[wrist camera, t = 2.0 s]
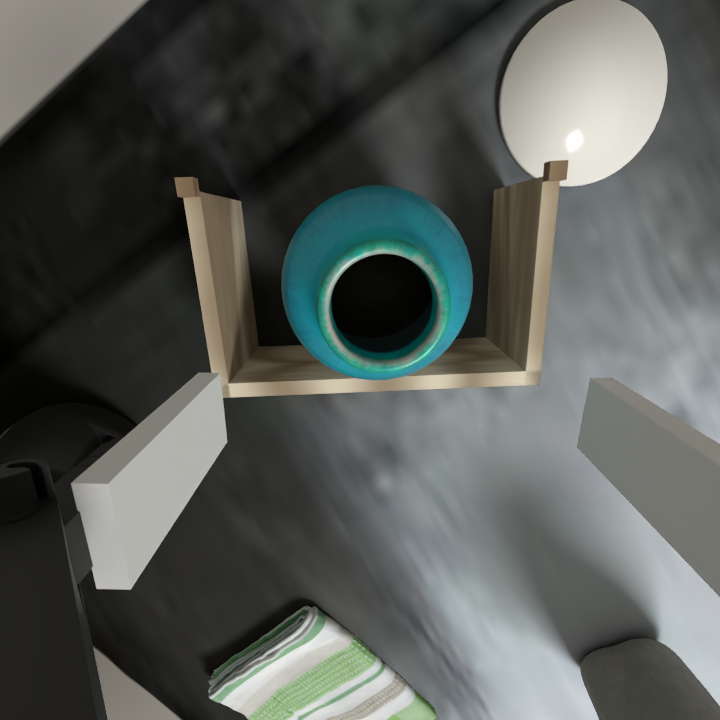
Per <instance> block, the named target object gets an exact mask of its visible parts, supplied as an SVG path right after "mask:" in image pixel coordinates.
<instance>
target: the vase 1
mask: <svg viewBox="0 0 720 720" xmlns="http://www.w3.org/2000/svg"><path fill="white" fill-rule="evenodd" d="M281 290H282V298H283V305H284V308H285V312H286V316H287V319H288V321H289V323H290V325H291V327H292V330H293V331H294V333H295V335H296V336H297V338H298V339H299V341H300V342H301V344H302V345H303V346H304V347H305V348H306V349H307V350H308V351H309V352H310V354H311V355H313V356H314V357H315V358H316V359H317V360H319V361H320V362H321V363H322V364H324V365H326V366H327V367H329V368H331V369H332V370H334V371H337V372H339V373H341V374H344V375H346V376H350V377H354V378H358V379H365V380H389V379H394V378H399V377H403V376H406V375H409V374H411V373H414V372H416V371H418V370H420V369H422V368H424V367H426V366H427V365H429V364H430V363H432V362H433V361H434V360H436V359H437V358H438V357H440V356H441V355H442V354H443V353H444V352H445V351H446V350H447V348H448V347H449V346H450V345H451V344H452V342H453V341H454V340H455V338H456V337H457V336H458V334H459V332H460V330H461V328H462V326H463V325H464V323H465V320H466V317H467V314H468V312H469V309H470V304H471V298H472V293H473V273H472V265H471V260H470V257H469V253H468V250H467V247H466V245H465V243H464V241H463V239H462V236H461V234H460V233H459V231H458V230H457V228H456V227H455V225H454V224H453V223H452V221H451V220H450V219H449V218H448V217H447V216H446V215H445V214H444V213H443V212H442V211H441V210H440V209H439V208H438V207H437V206H436V205H434V204H433V203H431V202H430V201H429V200H427V199H426V198H424V197H422V196H419V195H417V194H415V193H413V192H411V191H408V190H405V189H401V188H398V187H394V186H385V185H370V186H361V187H357V188H352V189H348V190H346V191H343V192H341V193H339V194H336V195H334V196H332V197H331V198H329V199H328V200H326V201H324V202H323V203H321V204H320V205H319V206H318V207H316V208H315V209H314V210H313V211H312V212H311V213H310V214H309V215H308V216H307V217H306V218H305V220H304V221H303V222H302V223H301V225H300V226H299V227H298V229H297V231H296V232H295V234H294V236H293V238H292V240H291V241H290V244H289V247H288V249H287V252H286V255H285V259H284V264H283V269H282V283H281Z"/></svg>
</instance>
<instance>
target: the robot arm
mask: <svg viewBox="0 0 720 720" xmlns="http://www.w3.org/2000/svg"><path fill="white" fill-rule="evenodd" d="M226 443H227V435H226V425H225V415H224V406H223V396H222V387H221V377H220V373H198V374H197V375H196V376H194V377H193V378H192V379H191V380H190V381H189V382H187V383H186V384H185V385H184V386H183V387H182V388H180V389H179V390H178V391H177V392H176V393H175V394H174V395H172V396H171V397H170V398H169V399H168V400H167V401H165V402H164V403H163V404H162V405H161V406H160V407H158V408H157V409H156V410H155V411H154V412H153V413H152V414H150V415H149V416H148V417H147V418H146V419H145V420H143V421H142V422H141V423H140V424H139V425H138V426H135V425H134V424H133V423H131V422H130V421H129V420H127V419H126V418H124V417H122V416H120V415H119V414H117V413H115V412H112V411H110V410H108V409H105V408H102V407H99V406H95V405H91V404H85V403H74V402H68V403H58V404H53V405H49V406H45V407H43V408H40V409H38V410H36V411H34V412H32V413H31V414H29V415H27V416H25V417H24V418H22V419H20V420H18V421H17V422H15V423H14V424H12V425H11V426H10V427H8V428H7V429H6V430H5V431H4V432H3V433H2V434H1V435H0V720H107V715H106V710H105V705H104V700H103V695H102V690H101V685H100V680H99V675H98V671H97V665H96V661H95V656H94V650H93V645H92V640H91V636H90V631H89V626H88V621H87V616H86V611H85V606H84V601H83V596H82V592H81V588H80V582H81V581H82V580H83V578H84V577H85V576H86V575H87V573H88V572H89V571H90V570H91V569H92V572H93V576H94V580H95V584H96V588H97V589H128V590H131V588H132V587H133V585H134V584H135V582H136V581H137V579H138V578H139V576H140V574H141V573H142V571H143V570H144V568H145V567H146V565H147V564H148V562H149V561H150V559H151V558H152V556H153V555H154V553H155V551H156V550H157V548H158V547H159V545H160V544H161V542H162V541H163V539H164V538H165V536H166V535H167V533H168V532H169V530H170V529H171V527H172V525H173V524H174V522H175V521H176V519H177V518H178V516H179V515H180V513H181V512H182V510H183V509H184V507H185V506H186V504H187V502H188V501H189V499H190V498H191V496H192V495H193V493H194V492H195V490H196V489H197V487H198V486H199V484H200V483H201V481H202V480H203V478H204V476H205V475H206V473H207V472H208V470H209V469H210V467H211V466H212V464H213V463H214V461H215V460H216V458H217V457H218V455H219V453H220V452H221V450H222V449H223V447H224V446H225V444H226ZM577 448H578V449H579V450H580V451H581V452H582V453H583V454H584V455H585V456H586V457H587V458H588V459H589V460H590V461H591V462H592V463H593V464H594V465H595V466H596V467H597V469H598V470H599V471H600V472H601V473H602V474H603V475H604V476H605V477H606V478H607V479H608V480H609V481H610V482H611V483H612V484H613V485H614V486H615V487H616V488H617V490H618V491H619V492H620V493H621V494H622V495H623V496H624V497H625V498H626V499H627V500H628V501H629V502H630V503H631V504H632V505H633V506H634V507H635V508H636V509H637V510H638V512H639V513H640V514H641V515H642V516H643V517H644V518H645V519H646V520H647V521H648V522H649V523H650V524H651V525H652V526H653V527H654V528H655V529H656V530H657V531H658V532H659V534H660V535H661V536H662V537H663V538H664V539H665V540H666V541H667V542H668V543H669V544H670V545H671V546H672V547H673V548H674V549H675V550H676V551H677V552H678V553H679V555H680V556H681V557H682V558H683V559H684V560H685V561H686V562H687V563H688V564H689V565H690V566H691V567H692V568H693V569H694V570H695V571H696V572H697V573H698V574H699V575H700V577H701V578H702V579H703V580H704V581H705V582H706V583H707V584H708V585H709V586H710V587H711V588H712V589H713V590H714V591H715V592H716V593H717V594H718V595H719V596H720V444H718V443H717V442H715V441H714V440H712V439H710V438H709V437H707V436H705V435H704V434H702V433H701V432H699V431H697V430H696V429H694V428H692V427H691V426H689V425H688V424H686V423H684V422H683V421H681V420H680V419H678V418H676V417H675V416H673V415H671V414H670V413H668V412H667V411H665V410H663V409H662V408H660V407H658V406H657V405H655V404H654V403H652V402H650V401H649V400H647V399H645V398H644V397H642V396H641V395H639V394H637V393H636V392H634V391H632V390H631V389H629V388H628V387H626V386H624V385H623V384H621V383H619V382H618V381H616V380H615V379H613V378H590V382H589V387H588V392H587V397H586V403H585V408H584V413H583V418H582V423H581V429H580V434H579V439H578V444H577Z"/></svg>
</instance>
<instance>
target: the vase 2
mask: <svg viewBox="0 0 720 720" xmlns="http://www.w3.org/2000/svg"><path fill="white" fill-rule="evenodd" d="M581 675H582V679H583V682H584V685H585V687H586V689H587V692H588V694H589V696H590V699H591V701H592V703H593V706H594V708H595V710H596V713H597V715H598V717H599V720H720V706H719V705H718V704H717V702H716V701H715V700H714V699H713V697H712V696H711V695H710V693H709V692H708V691H707V690H706V688H705V687H704V686H703V685H702V684H701V682H700V681H699V680H698V679H697V678H696V677H695V675H694V674H693V673H692V672H691V671H690V669H689V668H688V667H687V666H686V665H685V663H684V662H683V661H682V660H681V659H680V657H679V656H678V655H677V654H676V653H675V652H673V651H672V650H671V649H670V648H668V647H667V646H666V645H664V644H662V643H660V642H658V641H655V640H652V639H647V638H637V639H631V640H627V641H624V642H622V643H619V644H617V645H614V646H609V647H604V648H600V649H597V650H595V651H592V652H591V653H589V654H588V655H586V656H585V657H584V659H583V660H582V662H581Z"/></svg>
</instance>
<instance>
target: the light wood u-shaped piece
mask: <svg viewBox="0 0 720 720" xmlns="http://www.w3.org/2000/svg"><path fill="white" fill-rule="evenodd" d="M568 161H569V160H558V161H549V162H546V163H544V172H543V176H542V177H539V178H535V179H532V180H528V181H525V182H521V183H517V184H514V185H510V186H507V187H503V188H500V189H496V190H494V194H493V213H492V231H491V250H490V268H489V287H488V305H487V324H486V337H480V338H456V339H455V340H454V341H453V342H452V344H451V345H450V346H449V347H448V348H447V350H446V351H445V352H444V353H443V354H442V355H441V356H440V357H438V358H437V359H436V360H434V361H433V362H432V363H430V364H429V365H427V366H426V367H424V368H422V369H420V370H418V371H416V372H414V373H411V374H409V375H406V376H403V377H399V378H394V379H389V380H365V379H358V378H354V377H350V376H346V375H344V374H341V373H339V372H337V371H334V370H332V369H331V368H329V367H327V366H326V365H324V364H322V363H321V362H320V361H319V360H317V359H316V358H315V357H314V356H313V355H311V354H310V352H309V351H308V350H307V349H306V348H305V347H304V346H303V345H290V346H266V347H259V344H258V336H257V328H256V319H255V311H254V303H253V295H252V287H251V278H250V270H249V262H248V254H247V246H246V237H245V229H244V221H243V213H242V205H241V201H238V200H233V199H229V198H225V197H221V196H216V195H212V194H208V193H204V192H199V185H198V178H194V177H178V178H175V184H176V190H177V196H178V197H181V198H183V199H184V205H185V212H186V218H187V224H188V230H189V236H190V242H191V249H192V255H193V261H194V267H195V273H196V279H197V286H198V292H199V298H200V304H201V310H202V316H203V323H204V329H205V335H206V341H207V347H208V353H209V360H210V366H211V372H212V373H220V377H221V387H222V396H223V398H227V397H252V396H276V395H300V394H324V393H348V392H372V391H396V390H421V389H445V388H469V387H493V386H517V385H540V375H541V365H542V355H543V345H544V335H545V325H546V315H547V305H548V295H549V285H550V275H551V265H552V255H553V245H554V235H555V225H556V215H557V205H558V194H559V184H560V181H563V180H567V170H568Z"/></svg>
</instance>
